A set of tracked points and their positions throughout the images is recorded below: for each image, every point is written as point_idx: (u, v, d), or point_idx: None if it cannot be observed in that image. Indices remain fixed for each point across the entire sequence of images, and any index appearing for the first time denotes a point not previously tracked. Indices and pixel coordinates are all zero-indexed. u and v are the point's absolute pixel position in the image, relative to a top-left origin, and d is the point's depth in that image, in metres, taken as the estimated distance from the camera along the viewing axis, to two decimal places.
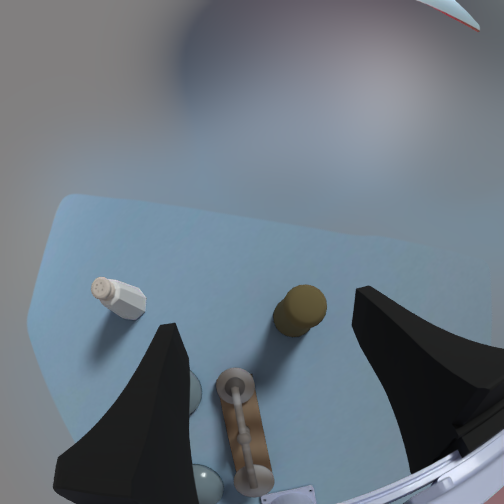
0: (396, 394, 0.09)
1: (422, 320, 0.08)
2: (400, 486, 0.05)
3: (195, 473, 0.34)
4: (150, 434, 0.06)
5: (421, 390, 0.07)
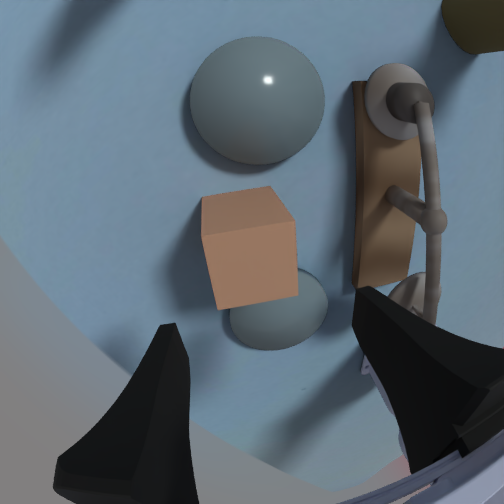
0: (396, 394, 0.09)
1: (422, 320, 0.08)
2: (399, 486, 0.05)
3: None
4: (150, 434, 0.06)
5: (421, 390, 0.07)
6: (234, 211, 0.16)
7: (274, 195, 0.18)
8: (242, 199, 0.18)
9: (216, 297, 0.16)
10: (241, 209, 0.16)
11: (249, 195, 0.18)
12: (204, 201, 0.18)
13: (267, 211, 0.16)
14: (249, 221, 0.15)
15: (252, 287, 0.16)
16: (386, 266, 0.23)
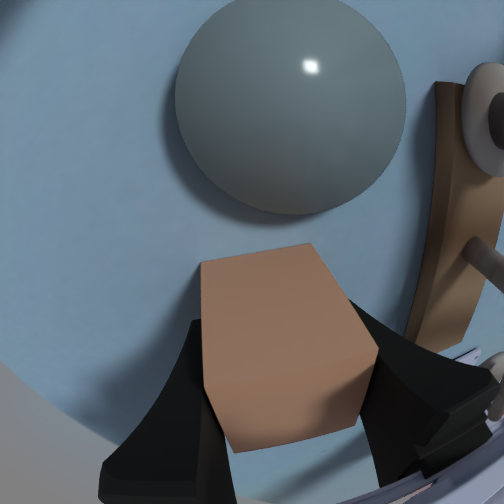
0: (364, 406, 0.09)
1: (390, 331, 0.08)
2: (400, 486, 0.05)
3: None
4: (202, 431, 0.06)
5: (385, 405, 0.07)
6: (261, 312, 0.09)
7: (324, 269, 0.10)
8: (269, 276, 0.10)
9: (232, 444, 0.08)
10: (272, 307, 0.09)
11: (281, 265, 0.11)
12: (205, 275, 0.11)
13: (322, 315, 0.08)
14: (294, 348, 0.07)
15: (290, 431, 0.08)
16: (444, 333, 0.15)
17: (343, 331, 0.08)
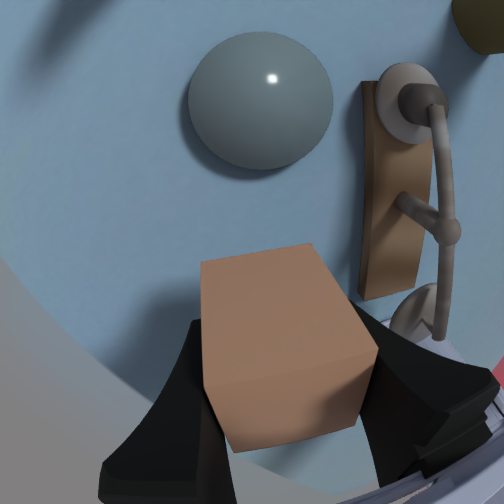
0: (364, 406, 0.09)
1: (390, 331, 0.08)
2: (400, 486, 0.05)
3: None
4: (202, 430, 0.06)
5: (385, 405, 0.07)
6: (261, 311, 0.09)
7: (324, 269, 0.10)
8: (269, 276, 0.10)
9: (232, 444, 0.08)
10: (272, 307, 0.09)
11: (280, 265, 0.11)
12: (205, 275, 0.11)
13: (322, 315, 0.08)
14: (294, 348, 0.07)
15: (289, 431, 0.08)
16: (394, 275, 0.22)
17: (343, 331, 0.08)
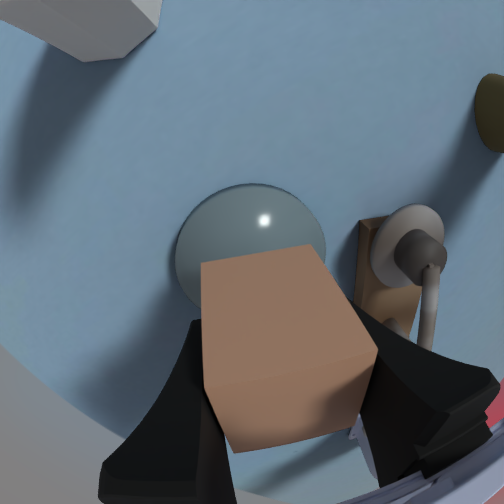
0: (364, 406, 0.09)
1: (390, 331, 0.08)
2: (400, 486, 0.05)
3: None
4: (202, 431, 0.06)
5: (385, 405, 0.07)
6: (261, 312, 0.09)
7: (324, 270, 0.10)
8: (269, 277, 0.11)
9: (232, 444, 0.08)
10: (272, 308, 0.09)
11: (280, 266, 0.11)
12: (205, 276, 0.11)
13: (321, 316, 0.08)
14: (294, 349, 0.08)
15: (289, 431, 0.09)
16: None
17: (343, 332, 0.08)
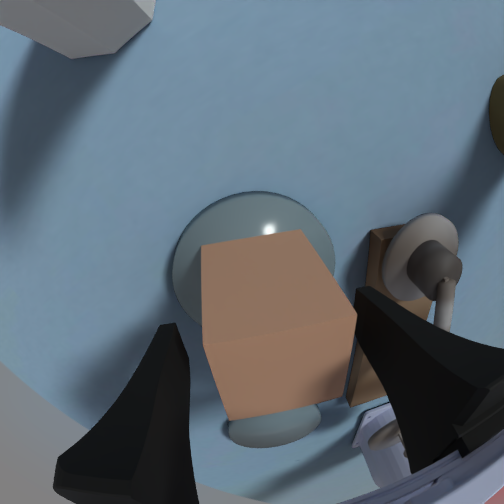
0: (396, 394, 0.09)
1: (422, 320, 0.08)
2: (400, 486, 0.05)
3: (280, 414, 0.21)
4: (150, 434, 0.06)
5: (421, 390, 0.07)
6: (254, 284, 0.10)
7: (311, 250, 0.12)
8: (262, 256, 0.12)
9: (227, 409, 0.10)
10: (264, 281, 0.10)
11: (272, 247, 0.12)
12: (205, 256, 0.12)
13: (307, 287, 0.10)
14: (282, 313, 0.09)
15: (280, 397, 0.10)
16: (380, 387, 0.21)
17: (326, 300, 0.09)
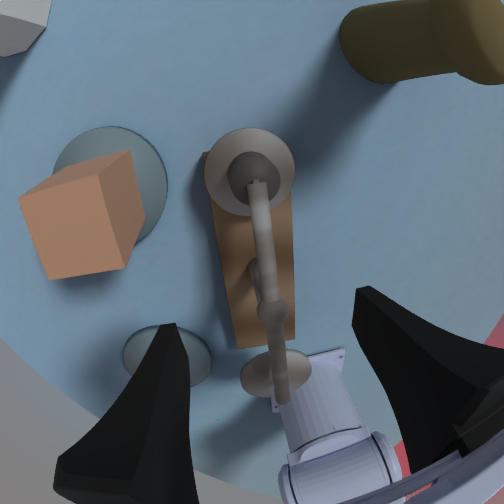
0: (396, 394, 0.09)
1: (422, 320, 0.08)
2: (400, 486, 0.05)
3: None
4: (150, 434, 0.06)
5: (421, 390, 0.07)
6: (67, 174, 0.13)
7: (119, 156, 0.14)
8: (89, 163, 0.14)
9: (44, 265, 0.12)
10: (74, 171, 0.13)
11: (100, 159, 0.15)
12: None
13: (90, 169, 0.12)
14: (63, 180, 0.11)
15: (72, 255, 0.12)
16: (265, 329, 0.24)
17: (91, 172, 0.11)
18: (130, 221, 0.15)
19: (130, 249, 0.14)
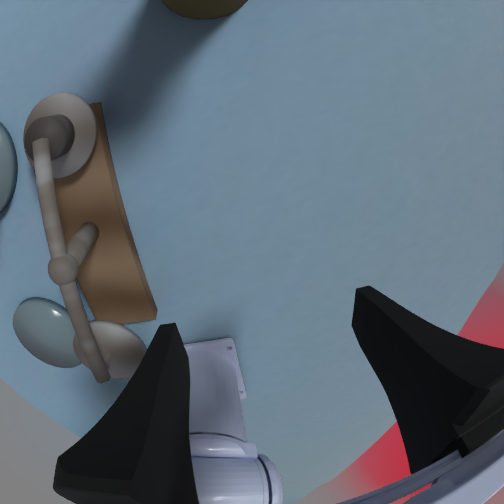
0: (396, 394, 0.09)
1: (422, 320, 0.08)
2: (400, 486, 0.05)
3: (38, 315, 0.20)
4: (150, 434, 0.06)
5: (421, 390, 0.07)
6: None
7: None
8: None
9: None
10: None
11: None
12: None
13: None
14: None
15: None
16: (119, 304, 0.21)
17: None
18: None
19: None
